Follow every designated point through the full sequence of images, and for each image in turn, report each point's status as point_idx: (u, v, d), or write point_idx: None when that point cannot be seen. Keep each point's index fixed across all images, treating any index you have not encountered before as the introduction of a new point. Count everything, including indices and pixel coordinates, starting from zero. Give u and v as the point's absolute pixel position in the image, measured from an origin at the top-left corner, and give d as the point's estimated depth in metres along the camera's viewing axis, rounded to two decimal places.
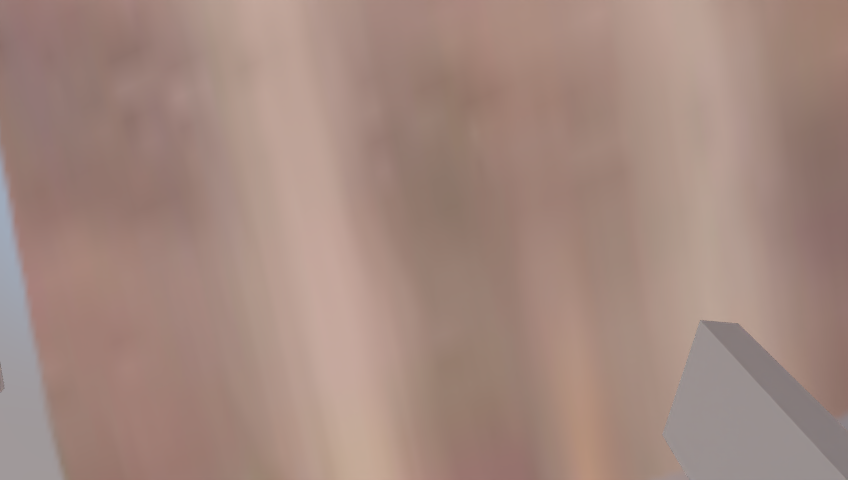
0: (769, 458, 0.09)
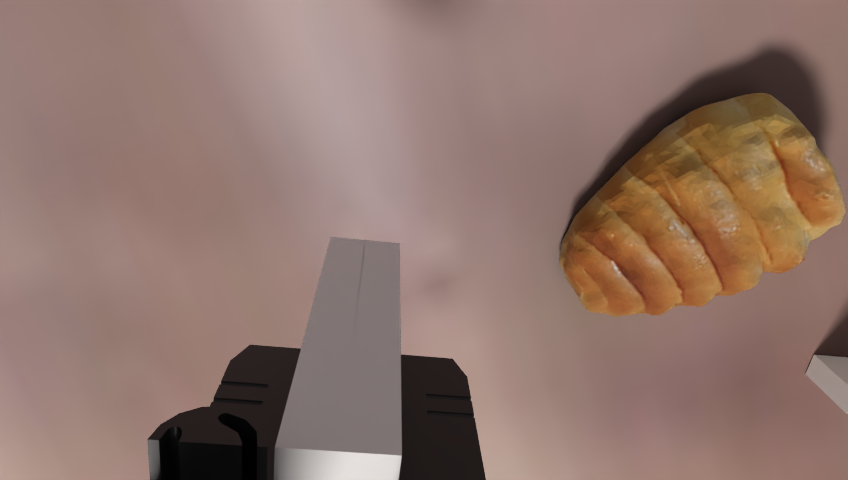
0: None
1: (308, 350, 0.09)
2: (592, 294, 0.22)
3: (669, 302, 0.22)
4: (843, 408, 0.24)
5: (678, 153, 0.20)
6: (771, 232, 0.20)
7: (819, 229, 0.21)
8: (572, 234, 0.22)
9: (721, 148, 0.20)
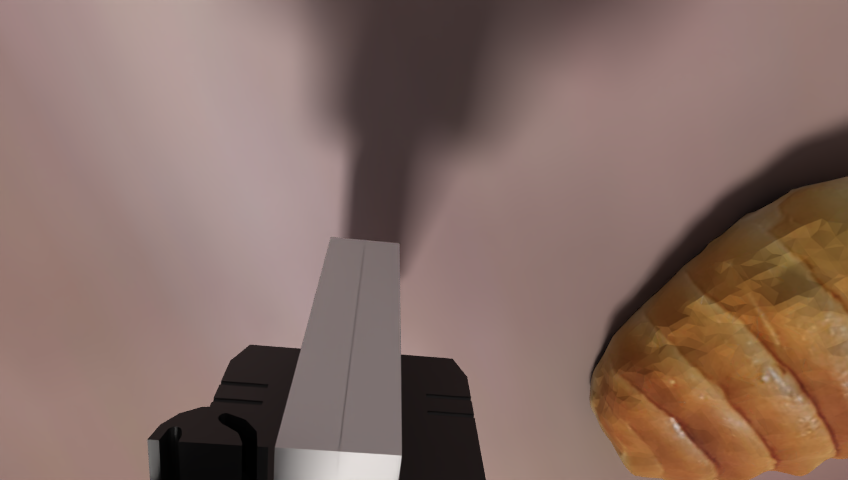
0: None
1: (308, 350, 0.09)
2: (640, 457, 0.15)
3: (755, 473, 0.15)
4: None
5: (774, 265, 0.13)
6: None
7: None
8: (609, 370, 0.15)
9: (845, 260, 0.13)
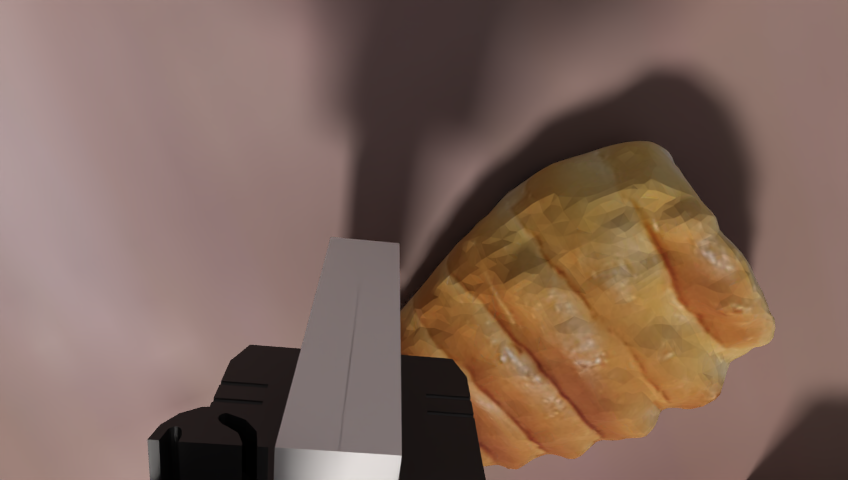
0: None
1: (308, 350, 0.09)
2: None
3: (524, 456, 0.14)
4: None
5: (510, 242, 0.13)
6: (657, 363, 0.13)
7: (739, 350, 0.13)
8: None
9: (569, 235, 0.12)
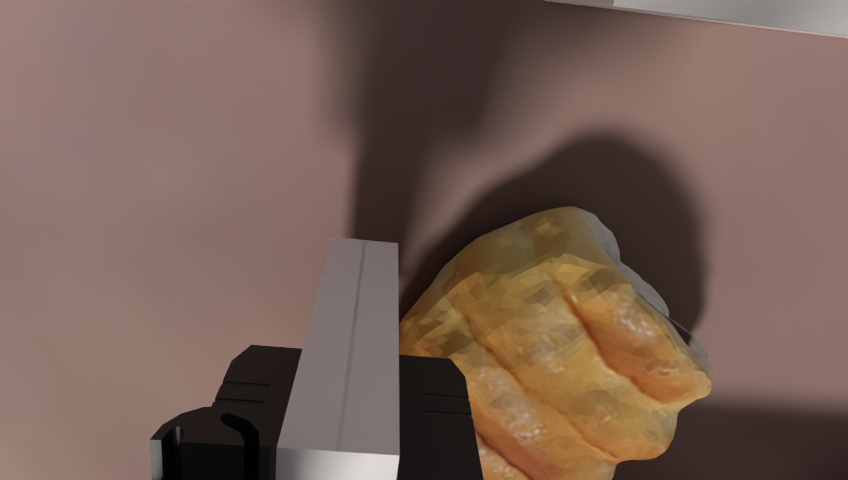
0: None
1: (310, 350, 0.09)
2: None
3: None
4: None
5: (441, 322, 0.13)
6: (596, 428, 0.13)
7: (681, 403, 0.13)
8: None
9: (493, 314, 0.13)
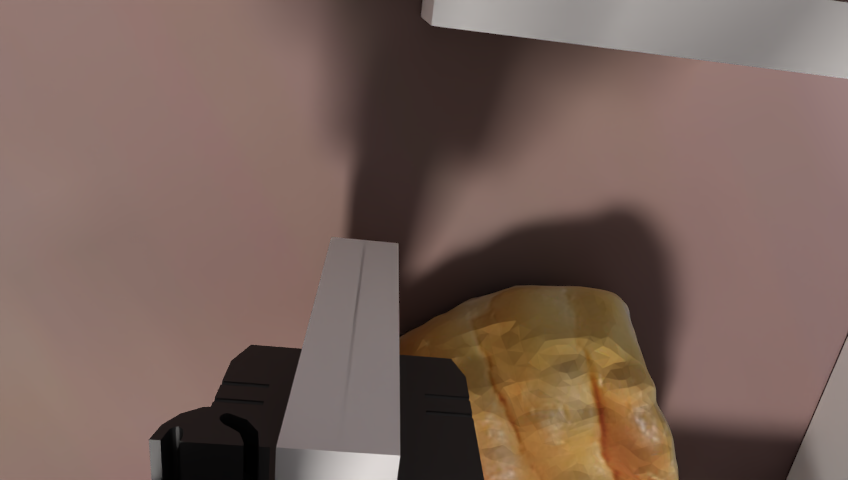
0: None
1: (309, 350, 0.09)
2: None
3: None
4: None
5: (462, 355, 0.13)
6: None
7: None
8: None
9: (519, 367, 0.13)
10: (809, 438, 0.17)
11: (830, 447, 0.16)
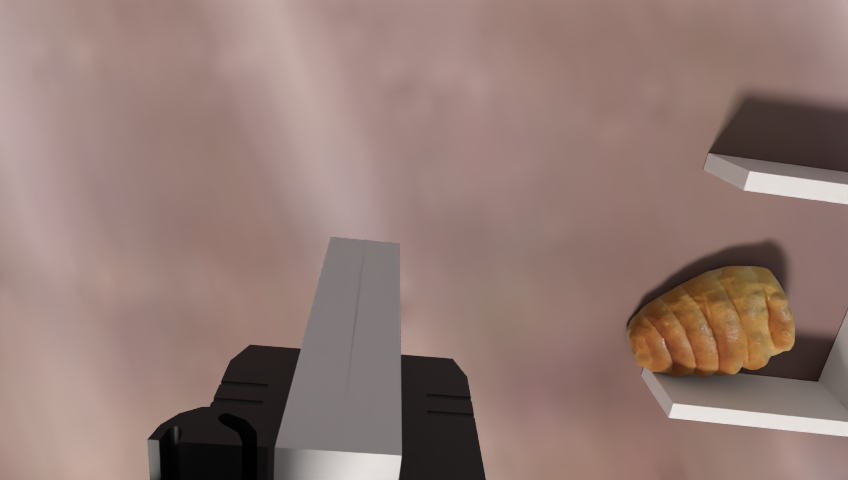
0: None
1: (308, 350, 0.09)
2: (644, 354, 0.38)
3: (686, 370, 0.37)
4: (655, 395, 0.38)
5: (715, 289, 0.36)
6: (754, 344, 0.36)
7: (778, 350, 0.37)
8: (641, 317, 0.38)
9: (739, 292, 0.36)
10: (838, 338, 0.39)
11: (847, 340, 0.39)
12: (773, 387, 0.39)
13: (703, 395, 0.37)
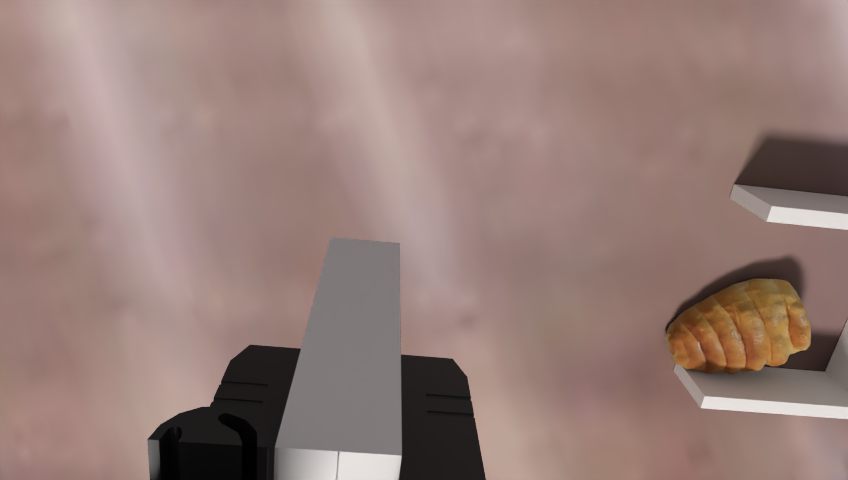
0: None
1: (308, 350, 0.09)
2: (681, 355, 0.44)
3: (718, 368, 0.44)
4: (687, 388, 0.45)
5: (743, 300, 0.42)
6: (776, 346, 0.42)
7: (796, 350, 0.43)
8: (679, 323, 0.44)
9: (764, 303, 0.42)
10: (842, 335, 0.46)
11: None
12: (787, 378, 0.46)
13: (729, 388, 0.44)
